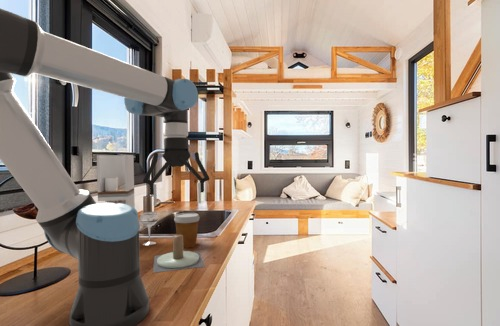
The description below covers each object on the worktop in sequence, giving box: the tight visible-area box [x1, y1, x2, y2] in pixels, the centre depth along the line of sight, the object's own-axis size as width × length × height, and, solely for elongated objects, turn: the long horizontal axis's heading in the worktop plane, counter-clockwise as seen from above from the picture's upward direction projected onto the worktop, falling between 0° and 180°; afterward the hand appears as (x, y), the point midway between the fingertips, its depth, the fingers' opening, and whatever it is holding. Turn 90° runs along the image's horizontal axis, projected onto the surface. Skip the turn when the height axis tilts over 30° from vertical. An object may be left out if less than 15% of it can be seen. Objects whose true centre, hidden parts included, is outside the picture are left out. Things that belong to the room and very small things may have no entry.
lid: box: [157, 234, 199, 269], centre depth 91 cm, size 13×13×8 cm
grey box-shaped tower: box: [96, 154, 136, 209], centre depth 113 cm, size 11×11×35 cm
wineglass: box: [139, 211, 159, 246], centre depth 112 cm, size 7×7×12 cm
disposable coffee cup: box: [173, 212, 201, 249], centre depth 108 cm, size 10×10×12 cm
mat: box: [152, 250, 206, 274], centre depth 91 cm, size 15×15×1 cm
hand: (177, 204), depth 91 cm, fingers open, 13 cm apart
